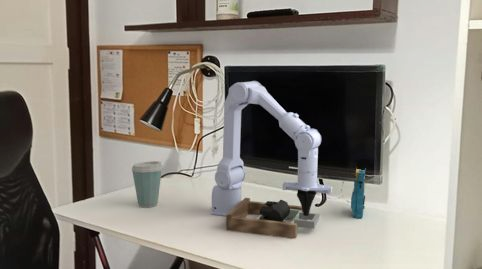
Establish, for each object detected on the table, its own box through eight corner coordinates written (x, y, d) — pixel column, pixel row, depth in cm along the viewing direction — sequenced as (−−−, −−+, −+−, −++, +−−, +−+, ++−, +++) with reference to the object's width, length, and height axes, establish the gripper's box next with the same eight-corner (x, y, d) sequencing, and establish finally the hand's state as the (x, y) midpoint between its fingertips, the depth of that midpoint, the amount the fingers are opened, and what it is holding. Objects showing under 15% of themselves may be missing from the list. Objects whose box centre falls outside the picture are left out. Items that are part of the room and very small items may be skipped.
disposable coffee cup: (127, 208, 172) (126, 165, 169) (139, 199, 182) (137, 158, 180) (158, 210, 170) (156, 166, 168) (167, 201, 181) (166, 159, 178)
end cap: (282, 231, 151) (282, 209, 149) (259, 229, 153) (259, 207, 152) (289, 221, 160) (290, 200, 159) (268, 218, 162) (268, 198, 161)
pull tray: (254, 230, 150) (254, 219, 150) (267, 215, 164) (267, 205, 163) (312, 237, 145) (312, 225, 144) (320, 221, 158) (320, 210, 158)
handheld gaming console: (363, 219, 161) (365, 173, 159) (350, 218, 162) (352, 172, 160) (364, 210, 170) (366, 166, 168) (352, 209, 171) (353, 165, 169)
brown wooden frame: (226, 230, 151) (226, 214, 150) (245, 212, 168) (245, 197, 167) (295, 238, 145) (295, 221, 144) (307, 218, 161) (308, 203, 161)
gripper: (280, 171, 148) (279, 216, 151) (330, 175, 144) (328, 221, 146) (286, 166, 155) (285, 209, 157) (333, 170, 150) (332, 214, 153)
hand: (306, 214), depth 152 cm, fingers closed
